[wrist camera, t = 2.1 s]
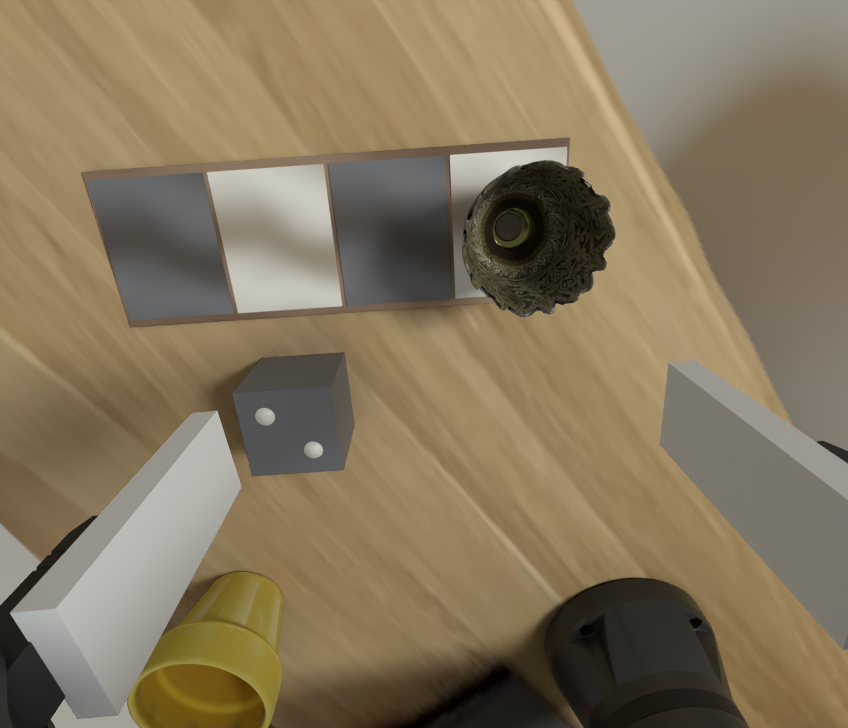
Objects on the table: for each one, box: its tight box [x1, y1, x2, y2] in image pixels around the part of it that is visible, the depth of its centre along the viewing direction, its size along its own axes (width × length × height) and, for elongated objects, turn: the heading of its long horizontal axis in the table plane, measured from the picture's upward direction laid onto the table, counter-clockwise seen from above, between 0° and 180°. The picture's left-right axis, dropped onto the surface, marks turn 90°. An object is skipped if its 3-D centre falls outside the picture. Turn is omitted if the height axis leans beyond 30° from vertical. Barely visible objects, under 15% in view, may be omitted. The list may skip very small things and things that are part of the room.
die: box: [232, 352, 354, 476], centre depth 32 cm, size 6×6×6 cm
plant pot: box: [127, 571, 283, 728], centre depth 38 cm, size 10×10×10 cm
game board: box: [82, 138, 570, 327], centre depth 30 cm, size 10×30×1 cm, turn 94°
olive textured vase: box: [462, 160, 615, 317], centre depth 26 cm, size 8×7×8 cm
